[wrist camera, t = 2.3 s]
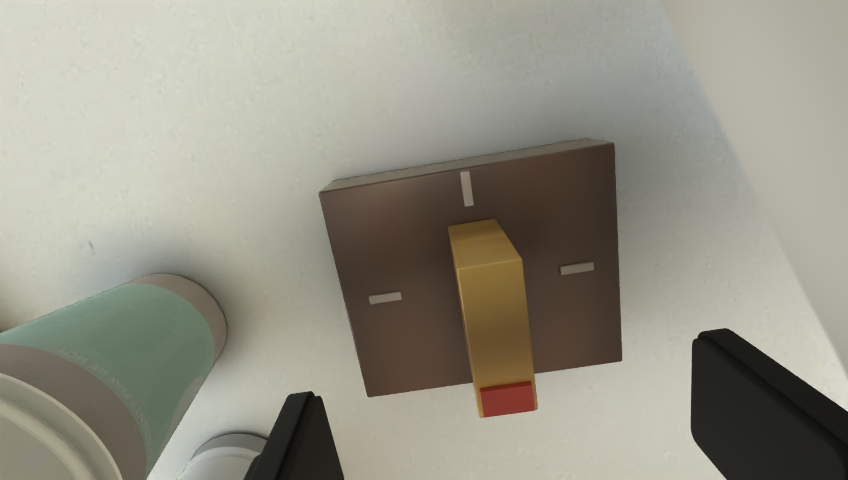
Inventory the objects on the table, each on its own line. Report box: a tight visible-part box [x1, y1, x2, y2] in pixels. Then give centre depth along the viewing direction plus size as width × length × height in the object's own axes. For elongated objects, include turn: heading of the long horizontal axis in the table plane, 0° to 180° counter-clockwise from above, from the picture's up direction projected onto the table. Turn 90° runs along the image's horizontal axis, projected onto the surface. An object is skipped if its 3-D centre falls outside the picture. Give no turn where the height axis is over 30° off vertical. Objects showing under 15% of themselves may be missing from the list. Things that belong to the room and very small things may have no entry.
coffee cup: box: [0, 273, 227, 480], centre depth 17 cm, size 8×9×12 cm
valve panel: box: [319, 138, 622, 397], centre depth 20 cm, size 12×10×3 cm
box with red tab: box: [448, 219, 538, 417], centre depth 16 cm, size 6×2×5 cm, turn 10°
